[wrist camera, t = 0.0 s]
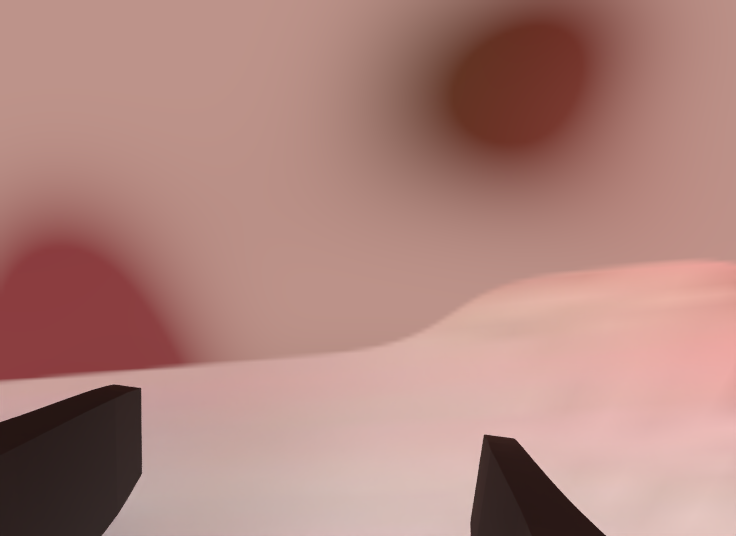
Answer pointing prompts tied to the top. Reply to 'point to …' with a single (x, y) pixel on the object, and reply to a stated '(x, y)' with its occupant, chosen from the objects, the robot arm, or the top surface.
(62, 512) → the robot arm
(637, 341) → the top surface
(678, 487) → the top surface
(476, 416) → the top surface
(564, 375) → the top surface
